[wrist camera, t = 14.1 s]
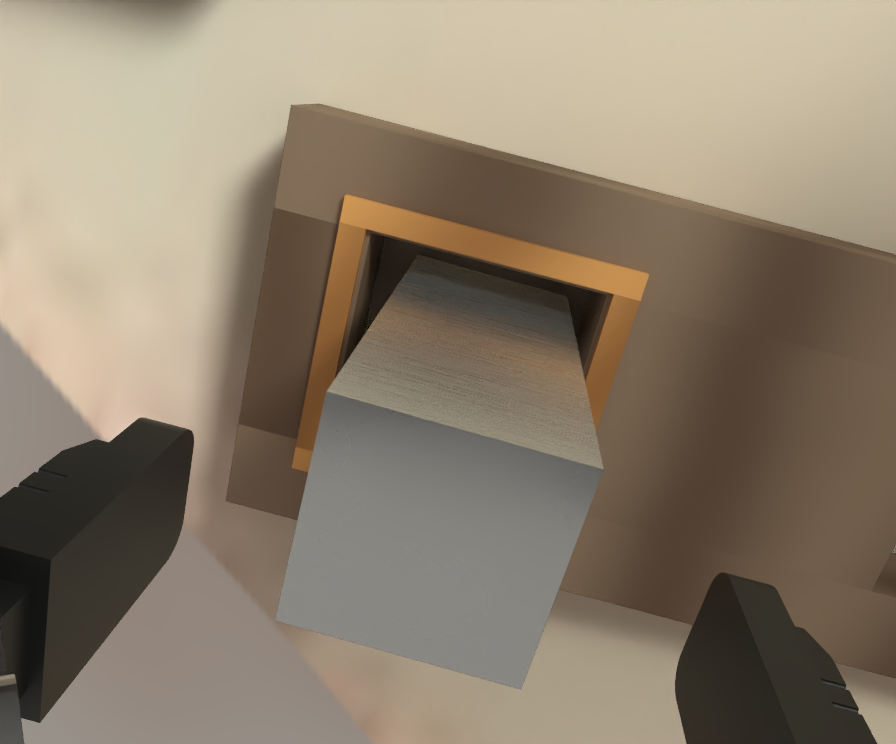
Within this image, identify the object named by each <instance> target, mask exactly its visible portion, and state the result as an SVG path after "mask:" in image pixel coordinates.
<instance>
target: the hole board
mask: <svg viewBox="0 0 896 744" xmlns="http://www.w3.org/2000/svg"><path fill="white" fill-rule="evenodd" d="M384 237H388V238H392V239H396V240H400V241H404V242H407V243H411V244H415V245H419V246H423V247H426V248H430V249H434V250H438V251H442V252H445V253H449V254H453V255H457V256H461V257H465V258H468V259H472V260H476V261H480V262H484V263H487V264H491V265H495V266H499V267H503V268H506V269H510V270H514V271H518V272H522V273H525V274H529V275H533V276H537V277H541V278H544V279H548V280H552V281H556V282H560V283H563V284H567V285H571V286H575V287H579V288H583V289H586V290H590V291H591V295H590V298H589V301H588V304H587V307H586V310H585V313H584V317H583V320H582V323H581V326H580V329H579V332H578V335H577V339H576V341H577V346H578V351H579V355H580V360H581V365H582V369H583V374H584V379H585V384H586V388H587V393H588V398H589V402H590V407H591V412H592V417H593V421H594V426H595V431H596V436H597V440H598V445H599V450H600V454H601V459H602V464H603V469H604V470H603V473H602V475H601V478H600V481H599V483H598V486H597V489H596V491H595V494H594V497H593V499H592V502H591V505H590V507H589V510H588V513H587V515H586V518H585V521H584V523H583V526H582V529H581V531H580V534H579V537H578V539H577V542H576V545H575V547H574V550H573V553H572V555H571V558H570V561H569V563H568V566H567V569H566V571H565V574H564V577H563V579H562V582H561V585H560V587H559V589H560V590H564V591H567V592H571V593H575V594H579V595H583V596H586V597H590V598H594V599H598V600H601V601H605V602H609V603H613V604H616V605H620V606H624V607H628V608H632V609H635V610H639V611H643V612H647V613H650V614H654V615H658V616H662V617H666V618H669V619H673V620H677V621H681V622H684V623H688V624H692V625H693V624H694V622H695V620H696V617H697V615H698V613H699V610H700V608H701V606H702V603H703V601H704V599H705V596H706V594H707V592H708V589H709V587H710V585H711V583H712V581H713V579H714V578H715V577H716V576H717V575H718V574H719V573H721V572H724V573H728V574H732V575H736V576H739V577H743V578H747V579H751V580H755V581H758V582H762V583H766V584H770V585H772V586H774V587H775V588H776V589H777V591H778V593H779V595H780V597H781V599H782V601H783V603H784V605H785V607H786V609H787V611H788V613H789V615H790V617H791V619H792V621H793V623H794V626H796V627H800V628H804V629H805V630H806V631H807V632H808V633H809V634H810V635H811V636H812V637H813V638H814V639H815V640H816V641H817V642H818V643H819V644H820V646H821V647H822V648H823V649H824V650H825V651H826V652H827V653H828V654H829V655H830V656H831V657H832V659H833V661H834V662H836V663H839V664H843V665H847V666H851V667H854V668H858V669H862V670H866V671H870V672H873V673H877V674H881V675H885V676H888V677H892V678H896V554H893V553H891V552H892V550H893V548H894V546H895V544H896V255H895V254H891V253H887V252H883V251H880V250H876V249H872V248H868V247H864V246H860V245H857V244H853V243H849V242H845V241H841V240H838V239H834V238H830V237H826V236H822V235H818V234H815V233H811V232H807V231H803V230H799V229H796V228H792V227H788V226H784V225H780V224H776V223H773V222H769V221H765V220H761V219H757V218H754V217H750V216H746V215H742V214H738V213H734V212H731V211H727V210H723V209H719V208H715V207H712V206H708V205H704V204H700V203H696V202H692V201H689V200H685V199H681V198H677V197H673V196H670V195H666V194H662V193H658V192H654V191H650V190H647V189H643V188H639V187H635V186H631V185H628V184H624V183H620V182H616V181H612V180H608V179H605V178H601V177H597V176H593V175H589V174H586V173H582V172H578V171H574V170H570V169H566V168H563V167H559V166H555V165H551V164H547V163H544V162H540V161H536V160H532V159H528V158H524V157H521V156H517V155H513V154H509V153H505V152H502V151H498V150H494V149H490V148H486V147H482V146H479V145H475V144H471V143H467V142H463V141H460V140H456V139H452V138H448V137H444V136H440V135H437V134H433V133H429V132H425V131H421V130H418V129H414V128H410V127H406V126H402V125H398V124H395V123H391V122H387V121H383V120H379V119H376V118H372V117H368V116H364V115H360V114H356V113H353V112H349V111H345V110H341V109H337V108H334V107H330V106H326V105H322V104H303V105H291V109H290V115H289V121H288V127H287V133H286V139H285V145H284V151H283V157H282V163H281V169H280V175H279V181H278V187H277V193H276V199H275V206H274V212H273V218H272V224H271V230H270V236H269V242H268V248H267V254H266V260H265V266H264V272H263V278H262V284H261V290H260V296H259V302H258V309H257V315H256V321H255V327H254V333H253V339H252V345H251V351H250V357H249V363H248V369H247V375H246V381H245V387H244V393H243V399H242V406H241V412H240V418H239V424H238V430H237V436H236V442H235V448H234V454H233V460H232V466H231V472H230V478H229V484H228V490H227V496H226V501H227V502H231V503H235V504H239V505H243V506H246V507H250V508H254V509H258V510H261V511H265V512H269V513H273V514H277V515H280V516H284V517H288V518H292V519H295V520H298V516H299V511H300V507H301V502H302V498H303V494H304V489H305V485H306V480H307V476H308V471H309V467H310V463H311V458H312V454H313V449H314V445H315V440H316V436H317V432H318V427H319V423H320V418H321V414H322V409H323V405H324V401H325V396H326V392H327V390H328V389H329V387H330V386H331V384H332V383H333V381H334V380H335V378H336V377H337V375H338V374H339V372H340V371H341V369H342V368H343V366H344V365H345V363H346V362H347V360H348V359H349V357H350V356H351V354H352V353H353V351H354V350H355V348H356V347H357V345H358V344H359V342H360V341H361V339H362V338H363V334H364V329H365V325H366V320H367V315H368V311H369V306H370V301H371V297H372V292H373V288H374V283H375V278H376V274H377V269H378V265H379V260H380V255H381V251H382V246H383V242H384Z"/></svg>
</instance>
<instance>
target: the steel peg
mask: <svg viewBox="0 0 896 744" xmlns="http://www.w3.org/2000/svg"><path fill="white" fill-rule="evenodd" d="M603 470H604V469H603V464H602V459H601V454H600V450H599V445H598V440H597V436H596V431H595V426H594V421H593V417H592V412H591V407H590V402H589V398H588V393H587V388H586V384H585V379H584V374H583V369H582V365H581V360H580V355H579V351H578V346H577V341H576V336H575V332H574V327H573V322H572V317H571V313H570V308H569V303H568V299H567V296H564V295H560V294H557V293H553V292H550V291H546V290H543V289H539V288H536V287H532V286H528V285H525V284H521V283H518V282H514V281H511V280H507V279H504V278H500V277H497V276H493V275H489V274H486V273H482V272H479V271H475V270H472V269H468V268H465V267H461V266H457V265H454V264H450V263H447V262H443V261H440V260H436V259H433V258H429V257H426V256H422V255H417V257H416V258H415V260H414V261H413V263H412V264H411V266H410V267H409V269H408V270H407V272H406V273H405V275H404V276H403V278H402V279H401V281H400V282H399V284H398V285H397V287H396V288H395V290H394V291H393V293H392V294H391V296H390V297H389V299H388V300H387V302H386V303H385V305H384V306H383V308H382V309H381V311H380V312H379V314H378V315H377V317H376V318H375V320H374V321H373V323H372V324H371V326H370V327H369V329H368V330H367V332H366V333H365V335H364V336H363V338H362V339H361V341H360V342H359V344H358V345H357V347H356V348H355V350H354V351H353V353H352V354H351V356H350V357H349V359H348V360H347V362H346V363H345V365H344V366H343V368H342V369H341V371H340V372H339V374H338V375H337V377H336V378H335V380H334V381H333V383H332V384H331V386H330V387H329V389H328V390H327V392H326V396H325V401H324V405H323V409H322V414H321V418H320V423H319V427H318V432H317V436H316V440H315V445H314V449H313V454H312V458H311V463H310V467H309V471H308V476H307V480H306V485H305V489H304V494H303V498H302V502H301V507H300V511H299V516H298V520H297V525H296V529H295V534H294V538H293V542H292V547H291V551H290V556H289V560H288V565H287V569H286V573H285V578H284V582H283V587H282V591H281V596H280V600H279V604H278V609H277V613H276V618H275V621H278V622H282V623H285V624H289V625H293V626H296V627H300V628H303V629H307V630H310V631H314V632H317V633H321V634H325V635H328V636H332V637H335V638H339V639H342V640H346V641H350V642H353V643H357V644H360V645H364V646H367V647H371V648H374V649H378V650H382V651H385V652H389V653H392V654H396V655H399V656H403V657H407V658H410V659H414V660H417V661H421V662H424V663H428V664H431V665H435V666H439V667H442V668H446V669H449V670H453V671H456V672H460V673H464V674H467V675H471V676H474V677H478V678H481V679H485V680H488V681H492V682H496V683H499V684H503V685H506V686H510V687H513V688H517V689H522V686H523V683H524V681H525V678H526V675H527V673H528V670H529V667H530V665H531V662H532V659H533V657H534V654H535V651H536V649H537V646H538V643H539V641H540V638H541V635H542V633H543V630H544V627H545V625H546V622H547V619H548V617H549V614H550V611H551V609H552V606H553V603H554V601H555V598H556V595H557V593H558V590H559V587H560V585H561V582H562V579H563V577H564V574H565V571H566V569H567V566H568V563H569V561H570V558H571V555H572V553H573V550H574V547H575V545H576V542H577V539H578V537H579V534H580V531H581V529H582V526H583V523H584V521H585V518H586V515H587V513H588V510H589V507H590V505H591V502H592V499H593V497H594V494H595V491H596V489H597V486H598V483H599V481H600V478H601V475H602V473H603Z"/></svg>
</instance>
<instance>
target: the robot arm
mask: <svg viewBox="0 0 896 744" xmlns="http://www.w3.org/2000/svg"><path fill="white" fill-rule="evenodd" d="M193 446H194V436H193V433H192V431H191V430H189V429H185V428H181V427H178V426H174V425H170V424H166V423H163V422H159V421H155V420H151V419H147V418H139V419H137V420H136V421H135V422H134V423H132V424H131V425H130V426H129V427H127V428H126V429H125V430H124V431H123V432H121V433H120V434H119V435H118V436H116V437H115V438H114V439H113V440H112V441H110V442H109V443H108V442H105V441H101V440H97V439H95V440H92V441H90V442H87V443H84V444H81V445H78V446H75V447H72V448H69V449H66V450H63V451H61V452H60V453H59V454H57V455H56V456H55V457H53V458H52V459H51V460H50V461H48V462H47V463H46V464H44V465H43V466H42V467H40V468H39V471H38V473H37V472H34V473H32V474H31V475H30V476H28V477H27V478H26V479H24V480H23V481H22V482H20V484H19V487H18V488H17V487H14V488H12V489H11V490H10V491H9V492H7V493H6V494H5V495H3V496H2V497H1V498H0V744H24V739H23V731H22V723H21V718H24V719H27V720H31V721H35V722H38V723H40V722H41V721H42V719H43V718H44V717H45V716H46V714H47V713H48V712H49V711H50V709H51V708H52V707H53V706H54V704H55V703H56V702H57V700H58V699H59V698H60V697H61V695H62V694H63V693H64V691H65V690H66V689H67V688H68V686H69V685H70V684H71V683H72V681H73V680H74V679H75V678H76V676H77V675H78V673H79V672H80V671H81V670H82V669H83V667H84V666H85V665H86V664H87V662H88V661H89V660H90V658H91V657H92V656H93V654H94V653H95V652H96V651H97V649H98V648H99V647H100V646H101V644H102V643H103V642H104V641H105V639H106V638H107V637H108V635H109V634H110V633H111V631H112V630H113V629H114V628H115V627H116V625H117V624H118V623H119V622H120V620H121V619H122V618H123V616H124V615H125V614H126V613H127V611H128V610H129V609H130V608H131V606H132V605H133V604H134V602H135V601H136V600H137V599H138V597H139V596H140V595H141V593H142V592H143V591H144V590H145V589H146V587H147V586H148V584H149V583H150V582H151V581H152V580H153V578H154V577H155V576H156V574H157V573H158V572H159V570H160V569H161V568H162V567H163V565H164V564H165V563H166V562H167V560H168V559H169V557H170V556H171V554H172V552H173V550H174V548H175V546H176V543H177V541H178V538H179V535H180V532H181V529H182V525H183V519H184V513H185V505H186V498H187V491H188V484H189V476H190V469H191V462H192V454H193ZM675 693H676V700H677V705H678V709H679V713H680V717H681V722H682V726H683V730H684V734H685V739H686V743H687V744H877V742H876V740H875V739H874V737H873V735H872V733H871V731H870V729H869V727H868V725H867V723H866V722H865V720H864V718H863V716H862V715H860V714H858V709H859V708H858V706H857V705H856V703H855V701H854V699H853V697H852V695H851V693H850V691H848V690H846V684H845V682H844V680H843V678H842V676H841V674H840V672H839V670H838V669H837V667H836V665H835V663H834V661H833V659H832V657H831V656H830V655H829V654H828V653H827V652H826V651H825V650H824V649H823V648H822V647H821V646H820V644H819V643H818V642H817V641H816V640H815V639H814V638H813V637H812V636H811V635H810V634H809V633H808V632H807V631H806V630H805V629H804V628H800V627H796V626H794V623H793V621H792V619H791V617H790V615H789V613H788V611H787V609H786V607H785V605H784V603H783V601H782V599H781V597H780V595H779V593H778V591H777V589H776V588H775V587H774V586H772V585H770V584H766V583H762V582H758V581H755V580H751V579H747V578H743V577H739V576H736V575H732V574H728V573H724V572H721V573H719V574H718V575H717V576H716V577H715V578H714V579H713V581H712V583H711V585H710V587H709V589H708V592H707V594H706V596H705V599H704V601H703V603H702V606H701V608H700V610H699V613H698V615H697V617H696V620H695V622H694V624H693V627H692V629H691V632H690V634H689V636H688V639H687V641H686V643H685V646H684V648H683V650H682V653H681V655H680V658H679V662H678V666H677V672H676V680H675Z"/></svg>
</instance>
